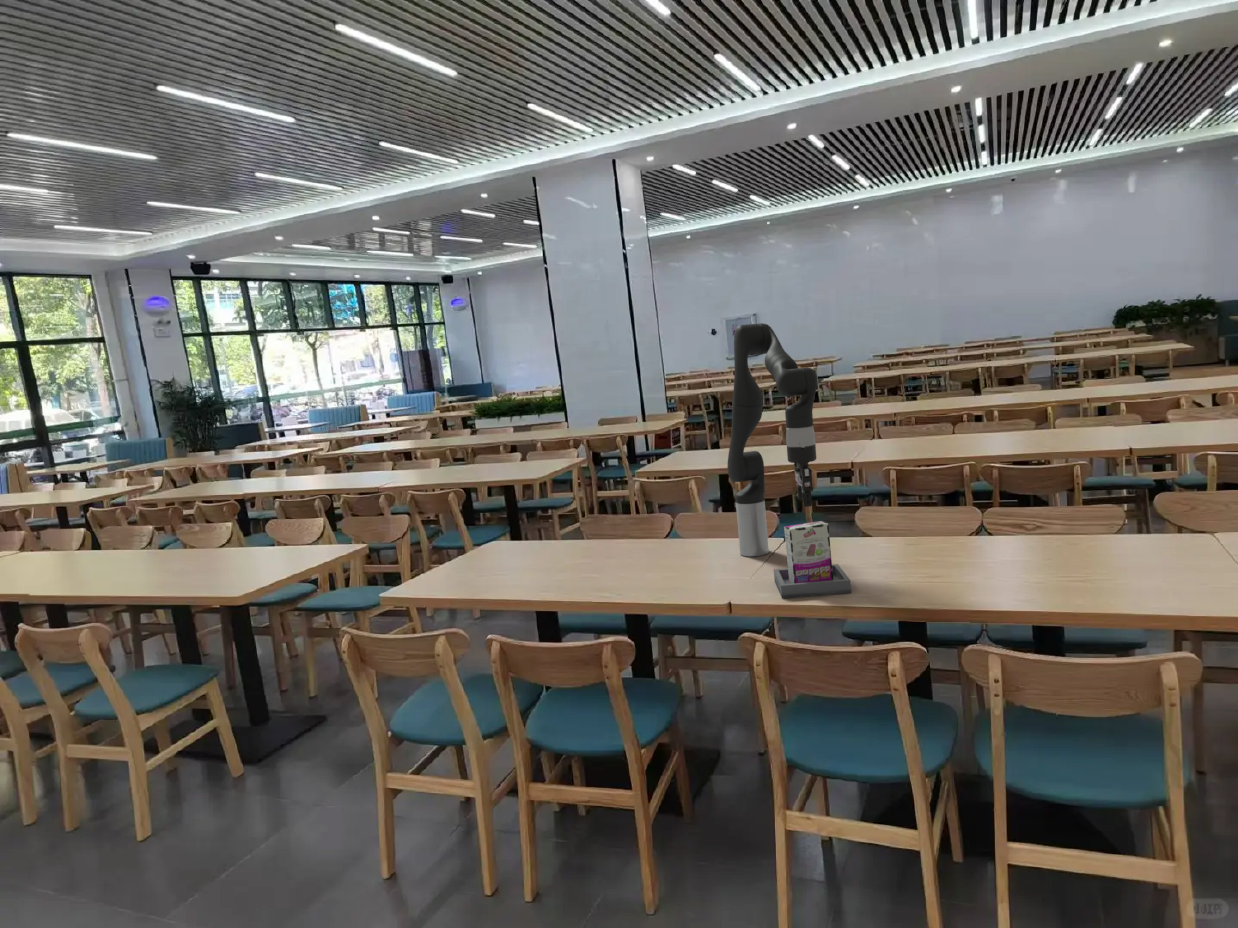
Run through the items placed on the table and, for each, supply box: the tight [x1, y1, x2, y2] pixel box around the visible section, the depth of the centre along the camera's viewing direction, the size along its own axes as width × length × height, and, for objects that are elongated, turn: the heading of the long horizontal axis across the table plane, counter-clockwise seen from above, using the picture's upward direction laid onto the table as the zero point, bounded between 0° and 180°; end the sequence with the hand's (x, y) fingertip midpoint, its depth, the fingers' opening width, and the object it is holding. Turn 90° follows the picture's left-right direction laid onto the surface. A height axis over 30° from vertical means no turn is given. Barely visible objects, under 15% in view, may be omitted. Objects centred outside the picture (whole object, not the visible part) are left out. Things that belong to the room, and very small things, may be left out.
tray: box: [773, 563, 852, 599], centre depth 217 cm, size 16×18×4 cm
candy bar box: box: [783, 520, 833, 584], centre depth 217 cm, size 11×5×16 cm, turn 99°
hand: (805, 503), depth 214 cm, fingers open, 8 cm apart
